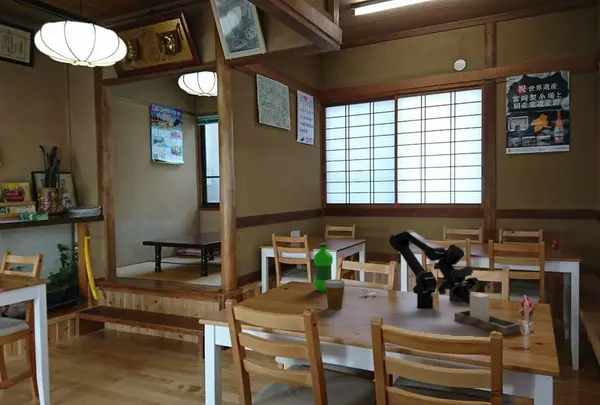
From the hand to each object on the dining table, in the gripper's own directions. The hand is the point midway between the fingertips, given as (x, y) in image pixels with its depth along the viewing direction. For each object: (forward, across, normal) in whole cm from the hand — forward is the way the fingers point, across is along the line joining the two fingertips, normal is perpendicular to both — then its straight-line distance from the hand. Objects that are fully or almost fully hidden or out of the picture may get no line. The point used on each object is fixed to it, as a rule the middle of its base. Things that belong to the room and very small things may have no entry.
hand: (470, 303), depth 178 cm
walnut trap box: (+10, 0, 0) cm, 10 cm away
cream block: (+7, 0, +1) cm, 7 cm away
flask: (-12, +21, +22) cm, 33 cm away
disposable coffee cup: (-27, -35, +37) cm, 58 cm away
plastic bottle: (-50, -22, +60) cm, 81 cm away
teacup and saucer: (-32, -11, +43) cm, 54 cm away
